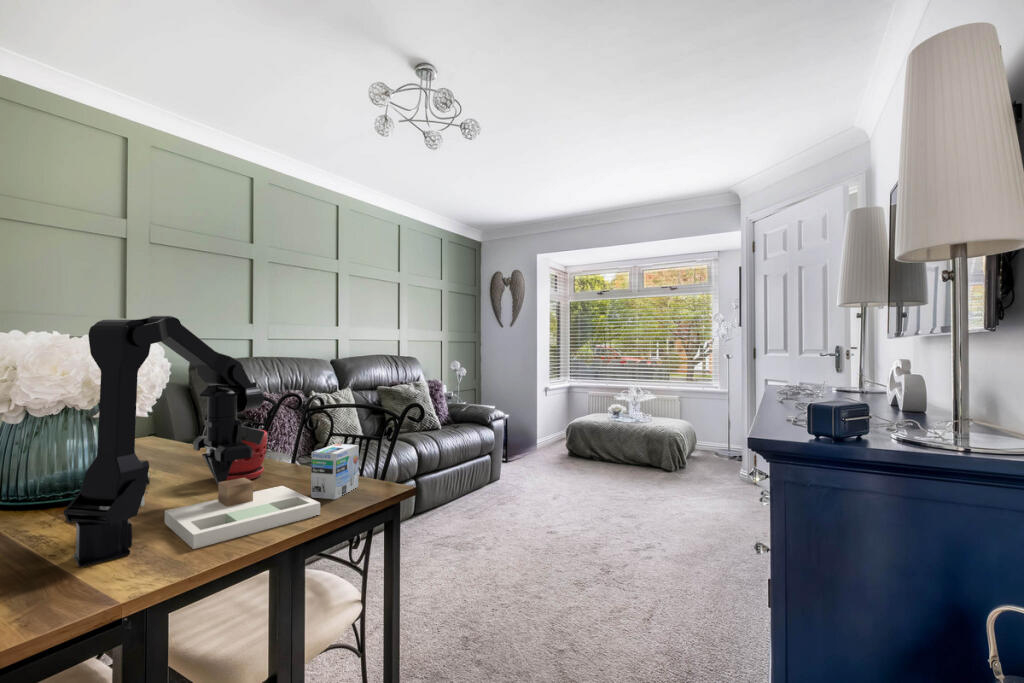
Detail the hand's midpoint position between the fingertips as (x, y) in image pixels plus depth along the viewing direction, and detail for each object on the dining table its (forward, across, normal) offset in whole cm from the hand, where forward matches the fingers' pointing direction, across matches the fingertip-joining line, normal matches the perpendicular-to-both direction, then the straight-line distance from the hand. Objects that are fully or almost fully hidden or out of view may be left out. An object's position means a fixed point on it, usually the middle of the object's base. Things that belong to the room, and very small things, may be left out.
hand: (221, 485), depth 107 cm
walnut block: (+2, -8, 0) cm, 9 cm away
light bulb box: (+4, -10, -22) cm, 24 cm away
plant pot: (+4, +20, -10) cm, 23 cm away
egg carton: (+4, +12, +16) cm, 21 cm away
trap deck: (+4, -14, 0) cm, 14 cm away
